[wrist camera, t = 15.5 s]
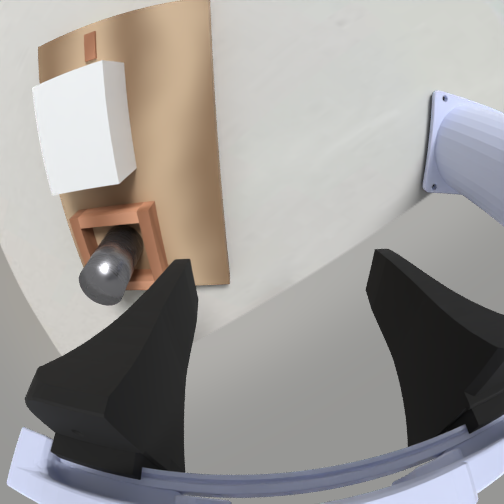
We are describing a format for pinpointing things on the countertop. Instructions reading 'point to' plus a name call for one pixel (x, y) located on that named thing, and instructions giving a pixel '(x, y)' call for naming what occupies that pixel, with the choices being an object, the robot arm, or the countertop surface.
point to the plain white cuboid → (85, 127)
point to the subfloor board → (155, 140)
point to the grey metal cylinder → (112, 265)
